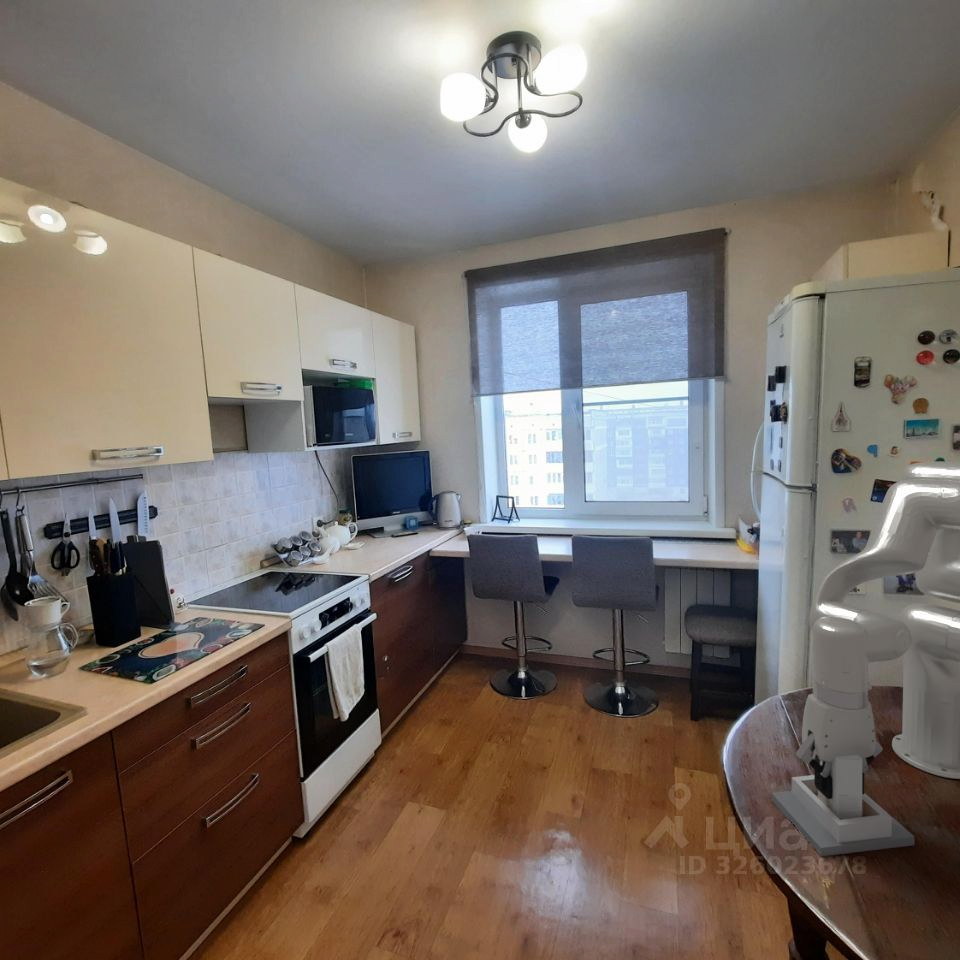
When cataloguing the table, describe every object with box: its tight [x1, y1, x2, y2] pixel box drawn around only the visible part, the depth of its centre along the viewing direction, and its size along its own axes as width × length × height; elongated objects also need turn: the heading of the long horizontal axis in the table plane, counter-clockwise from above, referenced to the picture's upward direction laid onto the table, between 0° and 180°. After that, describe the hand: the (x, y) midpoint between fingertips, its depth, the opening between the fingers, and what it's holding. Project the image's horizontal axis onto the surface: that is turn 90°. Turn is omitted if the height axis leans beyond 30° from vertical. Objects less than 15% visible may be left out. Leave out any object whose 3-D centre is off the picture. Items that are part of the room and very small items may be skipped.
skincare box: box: [818, 754, 862, 820], centre depth 84 cm, size 6×4×12 cm
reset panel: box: [771, 774, 915, 857], centre depth 85 cm, size 16×12×5 cm
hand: (839, 790), depth 84 cm, fingers closed on skincare box, 5 cm apart
